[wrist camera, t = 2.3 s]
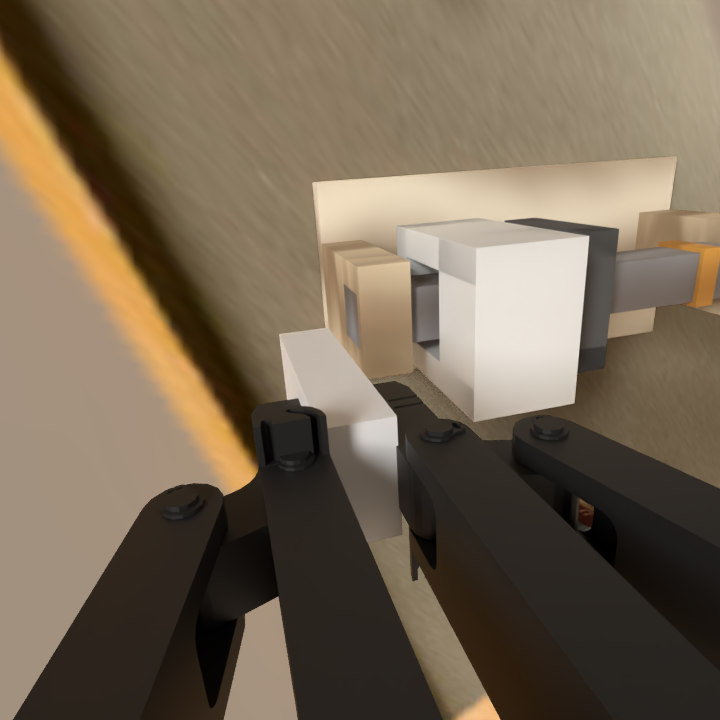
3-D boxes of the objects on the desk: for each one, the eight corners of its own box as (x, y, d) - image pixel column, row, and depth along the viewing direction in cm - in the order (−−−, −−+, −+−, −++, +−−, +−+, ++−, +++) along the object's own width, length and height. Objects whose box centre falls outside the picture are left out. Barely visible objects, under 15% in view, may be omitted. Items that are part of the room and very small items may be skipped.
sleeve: (396, 225, 23) (476, 248, 16) (478, 218, 24) (589, 235, 17) (401, 352, 25) (473, 422, 18) (476, 341, 26) (574, 403, 19)
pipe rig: (312, 182, 25) (352, 185, 18) (662, 156, 29) (810, 150, 22) (329, 374, 29) (368, 443, 21) (640, 326, 33) (761, 370, 26)
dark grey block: (504, 220, 24) (581, 232, 19) (535, 217, 25) (619, 228, 19) (500, 335, 26) (570, 374, 21) (529, 331, 26) (604, 368, 21)
